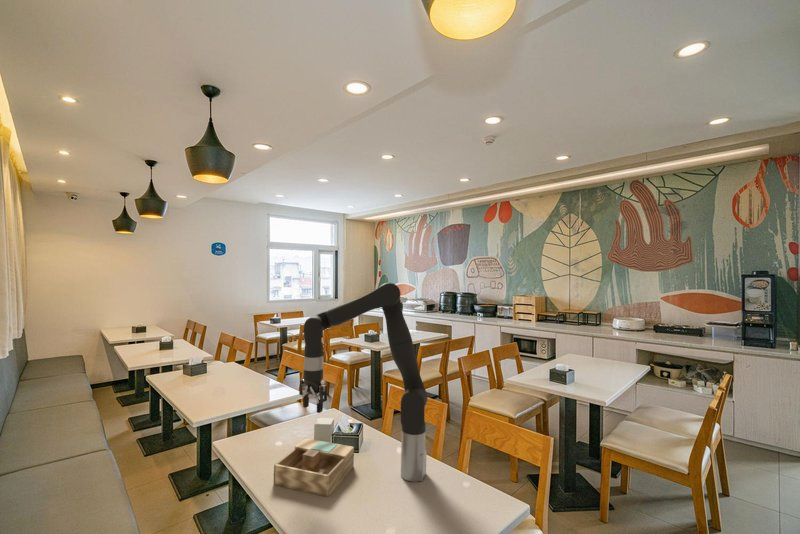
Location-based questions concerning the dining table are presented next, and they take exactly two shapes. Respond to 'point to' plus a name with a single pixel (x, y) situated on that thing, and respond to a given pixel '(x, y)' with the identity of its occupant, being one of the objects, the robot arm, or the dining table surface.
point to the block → (311, 460)
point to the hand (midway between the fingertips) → (312, 409)
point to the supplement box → (324, 429)
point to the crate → (331, 467)
